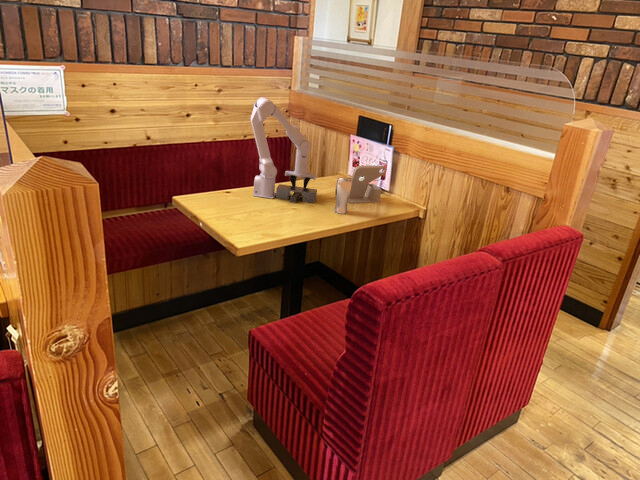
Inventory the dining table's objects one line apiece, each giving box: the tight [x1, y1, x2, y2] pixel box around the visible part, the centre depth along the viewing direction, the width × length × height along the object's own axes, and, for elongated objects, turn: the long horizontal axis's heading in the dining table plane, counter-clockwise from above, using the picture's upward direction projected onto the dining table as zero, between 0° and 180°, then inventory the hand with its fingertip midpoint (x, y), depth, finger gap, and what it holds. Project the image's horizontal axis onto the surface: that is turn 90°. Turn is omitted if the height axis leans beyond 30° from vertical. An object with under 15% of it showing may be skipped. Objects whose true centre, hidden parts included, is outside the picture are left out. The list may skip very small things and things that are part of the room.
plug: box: [289, 185, 303, 204], centre depth 231 cm, size 4×14×4 cm, turn 170°
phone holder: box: [348, 164, 387, 205], centre depth 236 cm, size 17×10×18 cm, turn 113°
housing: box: [275, 183, 318, 204], centre depth 230 cm, size 18×6×5 cm, turn 82°
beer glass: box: [333, 176, 352, 215], centre depth 218 cm, size 7×7×15 cm
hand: (299, 191), depth 236 cm, fingers closed on plug, 4 cm apart
